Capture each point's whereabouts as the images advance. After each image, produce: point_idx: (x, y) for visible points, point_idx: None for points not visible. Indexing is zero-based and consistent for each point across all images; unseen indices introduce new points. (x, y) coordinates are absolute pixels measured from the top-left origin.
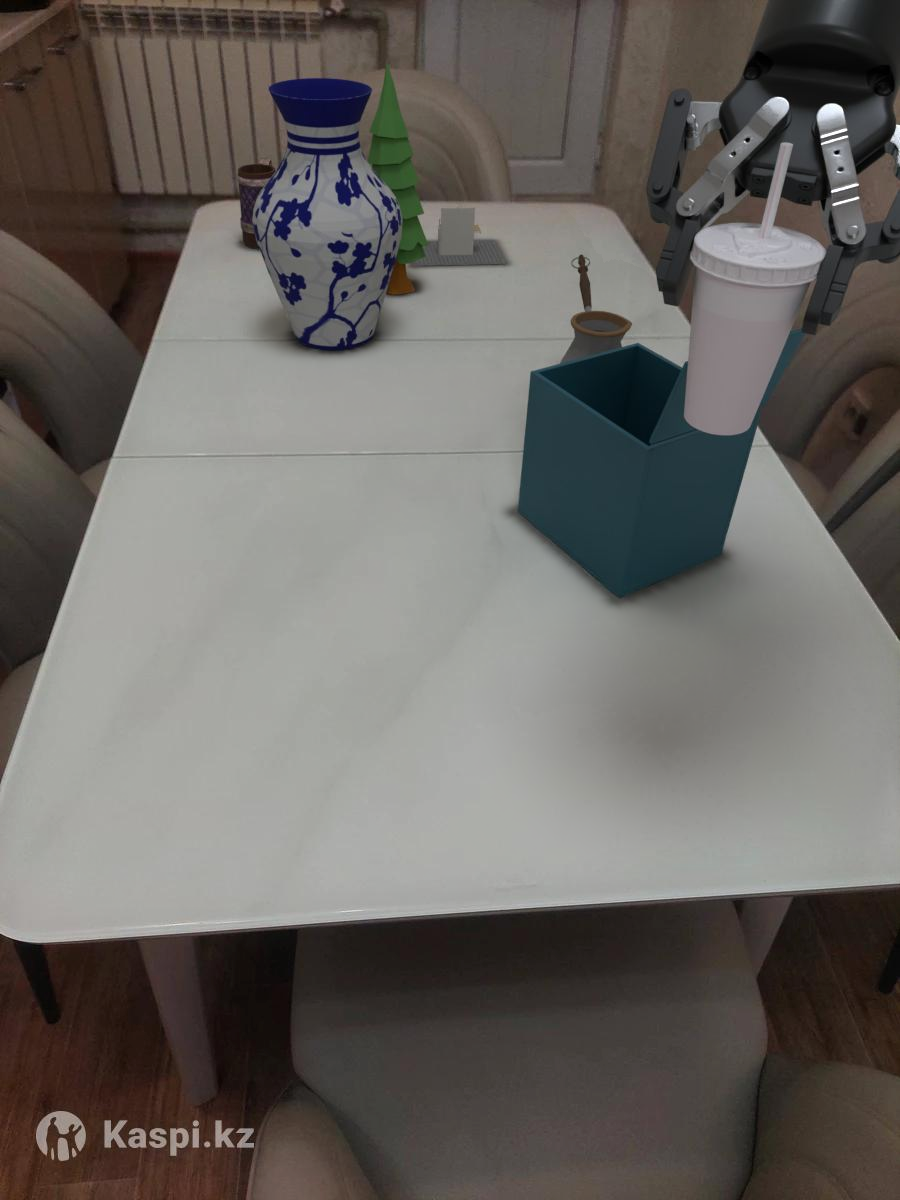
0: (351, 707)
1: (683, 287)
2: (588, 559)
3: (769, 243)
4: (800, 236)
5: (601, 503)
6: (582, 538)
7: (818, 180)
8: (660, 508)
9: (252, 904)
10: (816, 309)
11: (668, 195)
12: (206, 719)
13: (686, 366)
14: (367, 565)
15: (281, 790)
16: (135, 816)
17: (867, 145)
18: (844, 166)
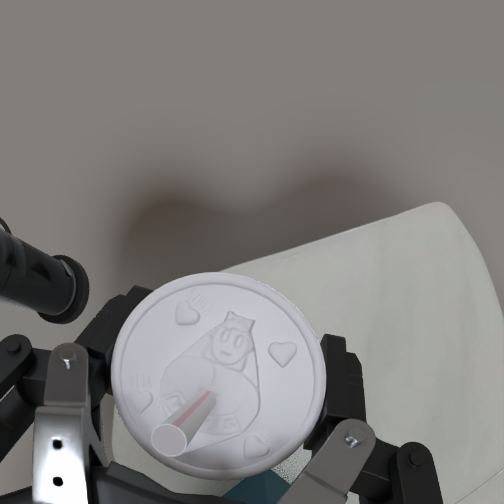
0: (391, 334)
1: None
2: (286, 484)
3: (198, 364)
4: (144, 434)
5: None
6: None
7: (104, 469)
8: (248, 500)
9: (386, 224)
10: (138, 288)
11: (391, 460)
12: (443, 305)
13: None
14: (411, 438)
15: (400, 277)
16: (441, 250)
17: (10, 496)
18: (50, 447)
